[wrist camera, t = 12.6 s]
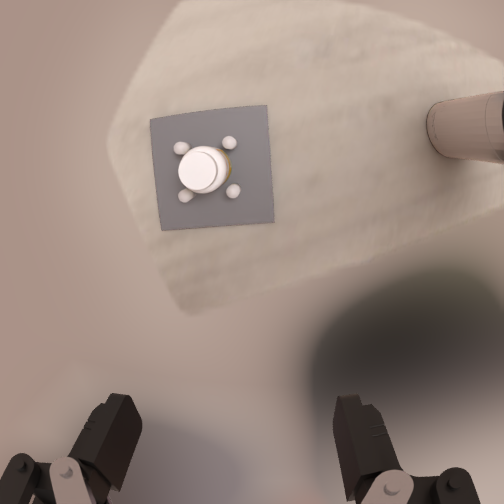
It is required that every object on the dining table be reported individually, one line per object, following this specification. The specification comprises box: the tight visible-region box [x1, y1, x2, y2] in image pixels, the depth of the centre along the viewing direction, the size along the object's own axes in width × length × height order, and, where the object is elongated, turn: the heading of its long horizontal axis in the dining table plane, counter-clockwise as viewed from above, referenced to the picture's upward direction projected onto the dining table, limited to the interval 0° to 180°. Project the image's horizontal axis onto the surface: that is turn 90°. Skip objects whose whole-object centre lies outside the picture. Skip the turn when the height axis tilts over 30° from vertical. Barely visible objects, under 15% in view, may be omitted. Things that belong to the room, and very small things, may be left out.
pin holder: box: [150, 105, 275, 231], centre depth 37 cm, size 16×16×5 cm
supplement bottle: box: [178, 146, 232, 193], centre depth 33 cm, size 5×5×10 cm
